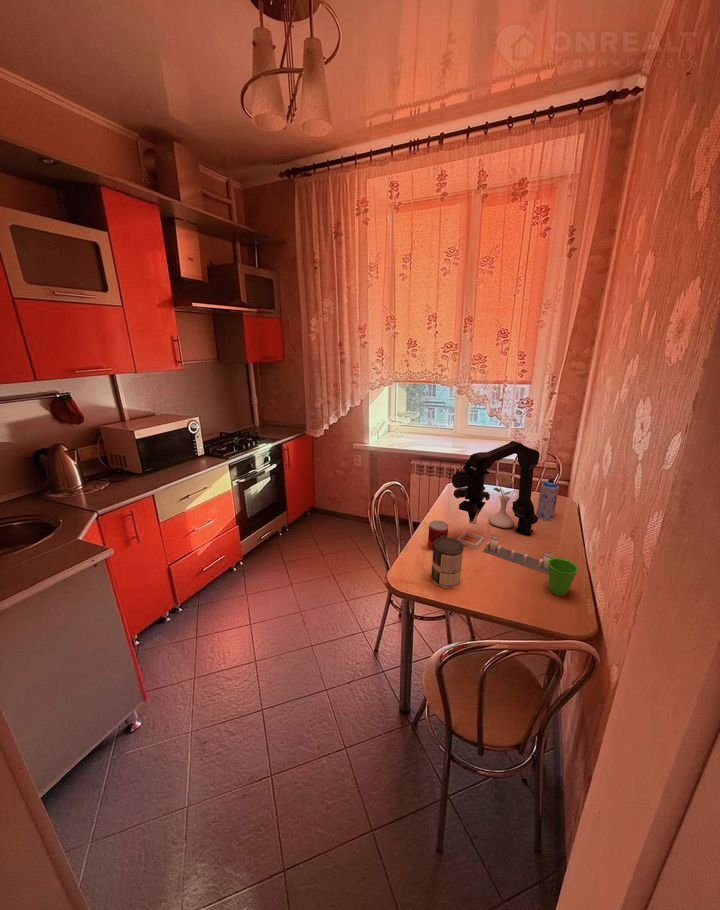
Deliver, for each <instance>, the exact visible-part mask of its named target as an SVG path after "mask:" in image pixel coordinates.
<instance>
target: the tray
mask: <svg viewBox="0 0 720 910" xmlns="http://www.w3.org/2000/svg"><path fill="white" fill-rule="evenodd" d="M465 537H470V538H473V539H476V540H477V542H476V543H475V542H470V541H467V540H465V539H464V538H465ZM456 540H458V541H460V542H461V543H462V544H463V546H464V545H465V546H468V547H471V548H474V549H478V548H479V547H480V546H481V544H483V542H484V541H485V537H484V536H482V535H478V534H476V533H473V532H469V531H467V530H464V531H463V532H462V533H461V534H460V535H459V536H458V537H457V538H456Z"/></svg>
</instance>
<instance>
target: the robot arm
mask: <svg viewBox="0 0 720 910" xmlns="http://www.w3.org/2000/svg"><path fill="white" fill-rule="evenodd" d="M540 453H541V452H540V451H538V450H537V449H534V448H531V447H528V446H526V445H524V444H522V443H521V442H519V441H515V440H511V441H509V442H508V443H506V444H504V445H501V446H499V447H496V448H494V449H491V450H489V451H484V452H483V451H481V452H475V453H472V454H471V455H470V457H469V458H468V460H467V461H466V463H465V464H464V466H463V467H462V470H456V471H455V473H454V474H453V475H452V477H451V484H452V487H454V488H455V490H454V491H453V496H454V497H455V499H462V498H464V500H463V501H461V502H460V503H459V504H458V510H460V511H464V512H466V513H467V514H468V520H469V519H470V521H473V520H474V518H475V516H476V514H477V512H478V514H477V517H478V516H479V514H480V512H481V511H482V510H483V507H484V506H485V505H486V502H485V501H489V500H490V497H491V494H490V493H489V492H488V491H485V490H486V487H485V479H486V475H490V474H491V473H490V472H489V470H488V469H489V468H491V467H492V466H493V465H494V463H496V462H498V461H500V460H504V459H505V458H507V457H510V456H512V455H515V454H516V456H517V462H518V464H519V467H520V474H519V485H518V486H519V487H518V498H517V499H516V500H515V501H513V502H512V507H511V510H512V512H513V514H514V517H516V518H518V519H517V520H518V521H517V526H516V528H515V529H514V533H516V534H520V535H524V536H526V537H527V536H528V537H530V536H531V535H532V534H533V532H534V529H532V528H533V525H536V524H537V522H538V521H539V520H540V519H539V518H538V517H537V516H536V513H535V505H534V503H533V501H532V492H533V491H532V490H533V489H532V488H533V481H534V480H533V479H534V469H535V468H536V467H537V465H539V462H540V457H541V456H540V455H541V454H540ZM483 500H485V501H483Z"/></svg>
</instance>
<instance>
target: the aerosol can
mask: <svg viewBox="0 0 720 910" xmlns="http://www.w3.org/2000/svg"><path fill="white" fill-rule="evenodd" d="M559 490H560V489H559V485H558V484H557V482H555V480H554V478H549V479H548V480H546V481H544V482H542V483H541V485H540V491H539V497H538V498H539V499H538V505H537V510H536V513H535V515H536V516H537V517H538V518H539V519H538V520H541V521H544V522H545V521H546V522H552V521H554V519H555V511H556V506H557V500H558V494H559Z"/></svg>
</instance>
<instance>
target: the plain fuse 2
mask: <svg viewBox="0 0 720 910" xmlns="http://www.w3.org/2000/svg"><path fill="white" fill-rule="evenodd" d="M543 555H544V556H543V566H542V568H543V569H545V570H548V571H549V565H548V560H549V559H551V558H555V554H554V553H553V552H550V551H545V552H544V554H543Z"/></svg>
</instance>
